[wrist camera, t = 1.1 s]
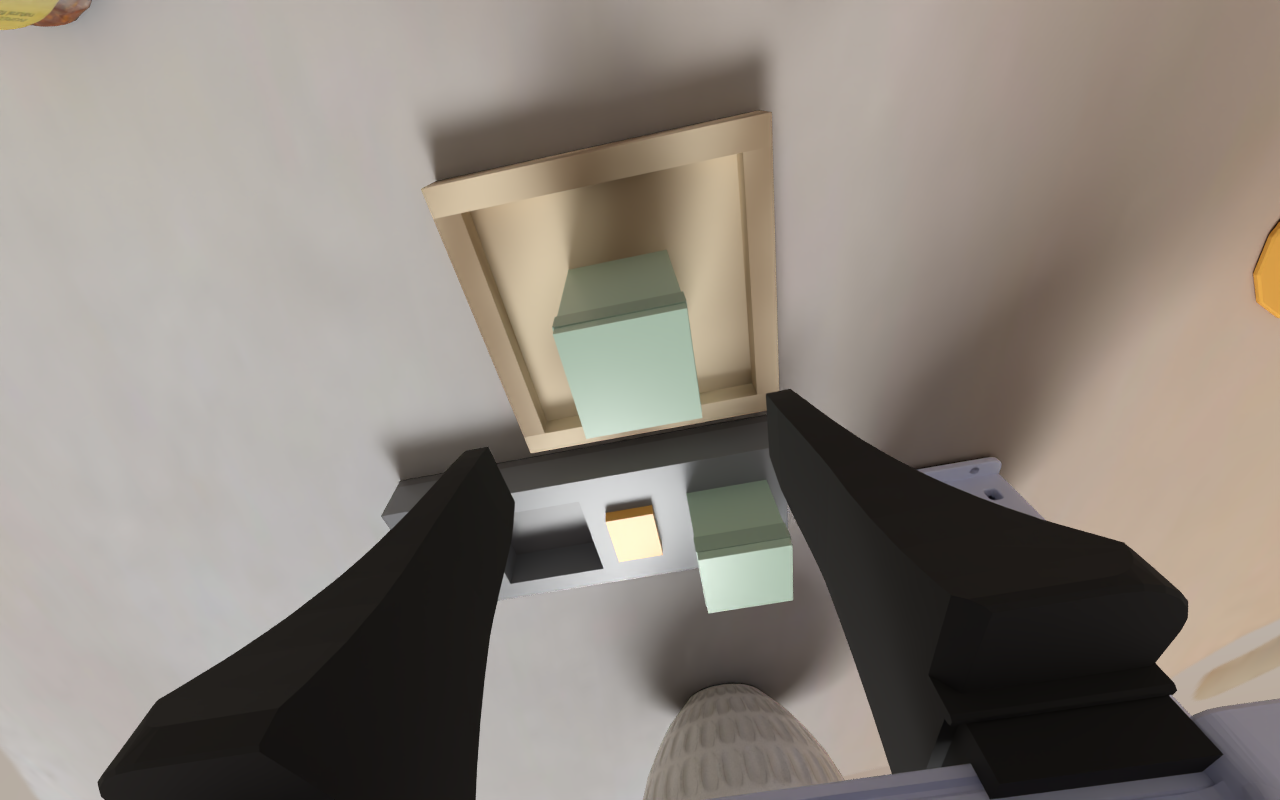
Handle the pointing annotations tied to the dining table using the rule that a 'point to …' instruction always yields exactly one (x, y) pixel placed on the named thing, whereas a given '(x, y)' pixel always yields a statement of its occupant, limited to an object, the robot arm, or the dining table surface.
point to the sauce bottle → (40, 12)
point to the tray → (615, 229)
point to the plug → (627, 345)
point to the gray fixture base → (646, 515)
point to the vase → (735, 748)
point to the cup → (1269, 274)
